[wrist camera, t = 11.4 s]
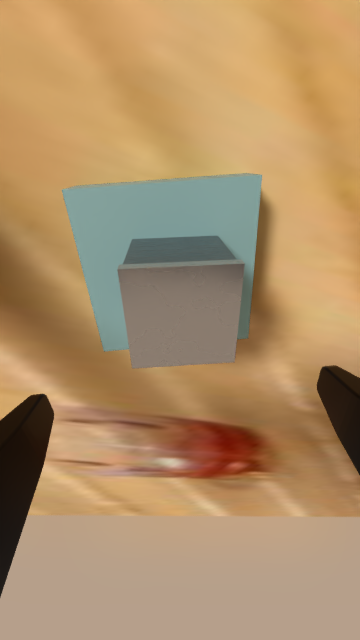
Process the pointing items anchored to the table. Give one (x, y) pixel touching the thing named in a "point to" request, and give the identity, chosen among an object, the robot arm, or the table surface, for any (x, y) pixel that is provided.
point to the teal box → (159, 232)
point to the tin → (181, 301)
